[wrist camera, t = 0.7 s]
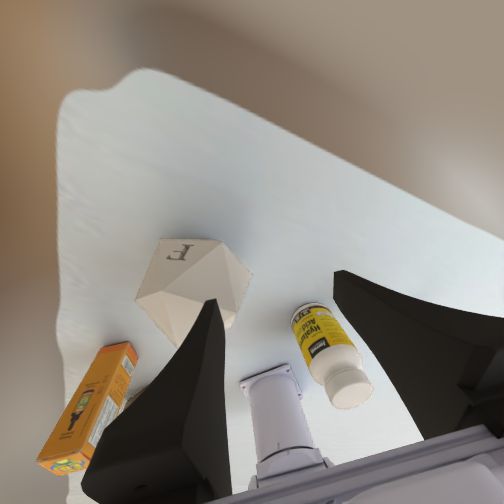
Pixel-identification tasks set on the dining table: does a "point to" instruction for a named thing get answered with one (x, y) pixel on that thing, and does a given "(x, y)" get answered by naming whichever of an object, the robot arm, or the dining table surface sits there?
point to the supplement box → (89, 411)
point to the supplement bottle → (331, 356)
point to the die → (191, 284)
